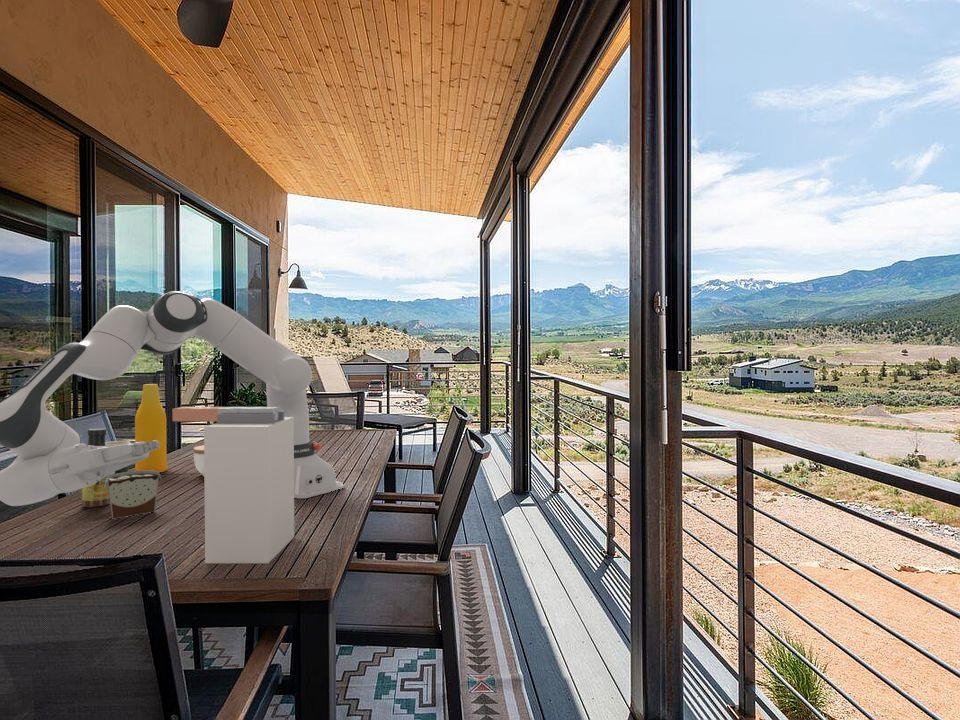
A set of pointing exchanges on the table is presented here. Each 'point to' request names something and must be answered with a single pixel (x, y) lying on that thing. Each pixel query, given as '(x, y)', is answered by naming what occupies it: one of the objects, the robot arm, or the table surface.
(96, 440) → the sauce bottle
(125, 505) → the half round cake
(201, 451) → the lidded bowl
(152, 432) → the yellow bottle
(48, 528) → the table surface
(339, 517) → the table surface
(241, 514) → the stand
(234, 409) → the knife
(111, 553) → the table surface
